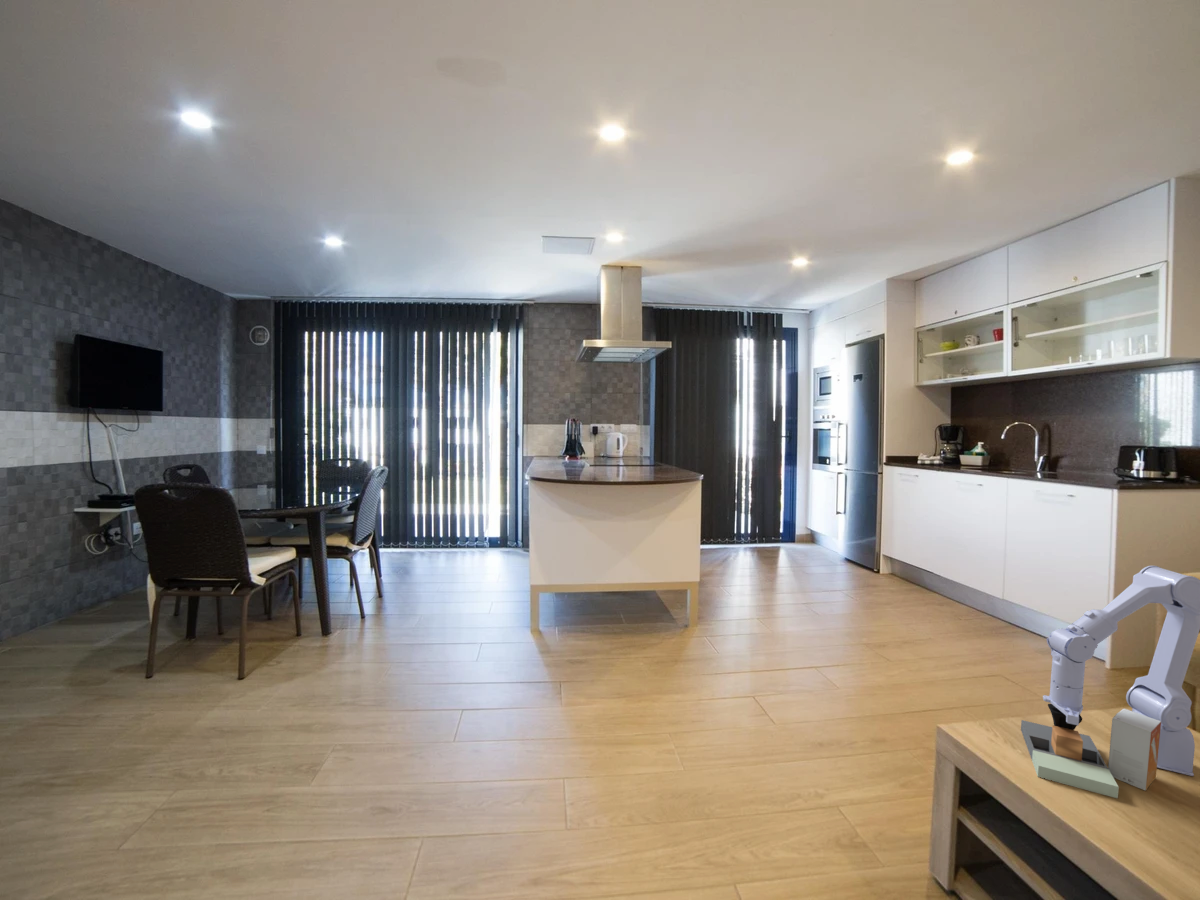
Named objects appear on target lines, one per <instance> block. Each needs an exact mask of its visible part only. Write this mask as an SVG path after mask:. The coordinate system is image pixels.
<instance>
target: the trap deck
mask: <svg viewBox="0 0 1200 900" xmlns="http://www.w3.org/2000/svg"><path fill="white" fill-rule="evenodd" d="M1020 731H1021V733H1022V736H1023V740H1024V742H1025V745H1026V747H1027V750H1028V753H1029V756H1030V759H1031V761H1032V764H1033V767H1034V770H1035V773H1036V775H1037V778H1040V777H1041V778H1040V779H1044V778H1045V780H1049V781H1051V780H1052V781H1053V782H1054V783H1055V782H1056V783H1060V784H1061V785H1062V784H1063V785H1067V786H1070V787H1073V788H1078V789H1081V790H1086V791H1089V792H1092V793H1096V794H1099V795H1104V796H1107V797H1111V798H1114V799H1118V798H1119V788H1120V787H1119V785H1118V783H1117V782H1116V779H1115V778H1114V777H1113V776H1112V774H1111V772H1110V771H1109V769H1108V764H1107V763H1106V762H1105V761H1104V759H1103V757H1102V754H1100V752H1099V750H1098V748H1097V746H1096V745H1095V743H1094V741H1093V740H1092V738H1091V736H1090V735H1087V734H1083V733H1079V734H1080V736H1081V738H1082V740H1083V748H1082V761H1080V760H1076V759H1072V758H1068V757H1064V756H1060V755H1057V754H1055V752H1054V750H1053V747H1052V745H1051V739H1052V726H1049V725H1045V724H1041V723H1040V724H1039V723H1036V722H1032V721H1027V720H1023V719H1021V722H1020Z"/></svg>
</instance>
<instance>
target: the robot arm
mask: <svg viewBox="0 0 1200 900" xmlns="http://www.w3.org/2000/svg"><path fill="white" fill-rule="evenodd" d="M1148 604H1161V605H1162V606H1163V607H1164V609H1165V610H1166V616H1165V618H1164V619H1165V620H1164V621H1163V625H1162V628H1161V632H1160V635H1159V638H1158V642H1157V645H1156V648H1155V650H1154V654H1153V658H1152V660H1151V663H1150V666H1149V667H1150V668H1149V670H1148V672H1147V675H1144V676H1139V677H1136V678H1135V680H1134V683H1133V685H1132V686H1131V687H1130V688H1129V689H1128V691H1127V692H1126V695H1125V700H1126V702H1127V704H1128V706H1129V707H1130V708H1132V710H1131V711H1133V712H1136V713H1139V714H1142V715H1144V716H1147V717H1150V718H1153V719H1156V720H1159V721H1161V729H1160V739H1159V749H1158V760H1157V768H1158V769H1162V770H1166V771H1171V772H1175V773H1178V774H1182V775H1187V776H1191V777H1194V775H1195V774H1194V771H1193V770H1194V760H1195V750H1196V749H1195V747H1196V746H1195V744H1196V743H1195V738H1194V735H1193V733H1192V731H1191V730H1190V729H1189V728H1187V727H1188V726H1190V724H1191V722H1192V712H1191V707H1192V703H1193V702H1192V700H1191V698H1190V697H1189V696H1188V695H1187V693H1186V691H1185V690H1184V689H1183V685H1184V681H1185V679H1186V678H1185V677H1186V674H1187V672H1188V668H1189V664H1190V662H1191V660H1192V656H1193V653H1194V650H1195V649H1194V648H1195V646H1196V644H1197V643H1196V642H1197V640H1198V635H1199V633H1200V579H1199V578H1197V577H1195V576H1193V575H1186V574H1182V573H1180V572H1176V571H1172V570H1169V569H1167V568H1166V569H1165V568H1162V567H1161V566H1158V565H1148V566H1145V567H1143V568H1142V569H1141V570H1140V571H1139V572H1137V573H1136V574H1134V575H1133V576H1132V583H1131V584H1129V586H1127V587H1126V588H1125V589H1124V590H1123V591H1122V592H1121V593H1119V594H1118V595H1117V596H1116V597H1115V598H1113V599H1112V600H1111V601H1110V602H1109V603H1108V604H1107V605H1106V606H1104V607H1103V608H1102V609H1095V608H1093V609H1089V610H1086V611H1085V612H1084V613H1083V615H1082V616H1081V617H1079V618H1078V619H1076V620H1075V621H1073V622H1072V623H1071V624H1069V625H1067V626H1066V627H1064V628H1063V627H1062V628H1058V629H1054V630H1053V631H1051V633H1050V634H1049V636H1048V637H1047V638H1046V644H1047V646H1048V648H1049V649H1050V655H1051V657H1052V658H1051V659H1052V660H1051V671H1050V672H1051V673H1050V683H1049V684H1050V687H1049V695H1046V694H1045V695H1042V699H1043V700H1042V701H1044V702H1046V703H1048V704H1047V706H1048V709H1049V711H1050V713H1051V717H1052V720H1053V725H1054V726H1058V727H1062V728H1066V729H1071V730H1075V729H1076V728H1077V727H1078V726H1079V725H1080V723H1081V722H1083V717H1082V715H1081V713H1082V711H1083V710H1084V706H1083V695H1084V684H1085V673H1086V672H1085V670H1086V661H1088V660H1091V659H1092V657H1093V656H1094V655H1095V650H1096V649H1097V648H1098V645H1099V644H1100V643H1102V642H1103V641H1104V640H1106V639H1107V638H1109V637H1110V636H1111V635H1113V634H1114V633H1115V632H1117V631H1118V627H1119V626H1118V623H1119V622H1120V621H1121V620H1124V618H1125V619H1126V617H1128V616H1130V615H1132V614H1133V613H1135V612H1137V611H1138V610H1140V609H1141V608H1143V607H1145V606H1147V605H1148Z"/></svg>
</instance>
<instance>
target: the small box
mask: <svg viewBox="0 0 1200 900" xmlns="http://www.w3.org/2000/svg"><path fill="white" fill-rule="evenodd" d="M1111 719H1112V720H1111V731H1110V739H1109V741H1110V742H1109V744H1110V745H1109V754H1108V764H1107V767H1108V769H1109V771H1110V772H1111V774H1112V776H1113V778H1114V779H1115V780H1116V779H1117V780H1119V781H1121V782H1123V783H1126V784H1128V785H1130V786H1132V787H1135V788H1138V789H1141V790H1143V791H1147V790H1148V788H1149V786H1150V785H1151V784H1152V783H1153V782H1154V780H1155V779H1157V770H1158V769H1157V760H1158V749H1159V739H1160V729H1161V721H1159V720H1156V719H1153V718H1150V717H1147V716H1144V715H1142V714H1139V713H1136V712H1133V711H1132V710H1130V709H1127V708H1122V709H1121V710H1120V711H1119V712H1117V713H1115V715H1114V716H1113V717H1112V718H1111Z"/></svg>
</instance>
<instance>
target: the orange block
mask: <svg viewBox="0 0 1200 900" xmlns="http://www.w3.org/2000/svg"><path fill="white" fill-rule="evenodd" d="M1051 727H1052V739H1051V745H1052V747H1053V750H1054V752H1055V754H1057V755H1060V756H1064V757H1068V758H1072V759H1076V760H1080V761H1082V748H1083V740H1082V738H1081V736H1080V734H1081V733H1079V731H1078V730H1075V729H1074V730H1071V729H1066V728H1062V727H1058V726H1054V724H1052V725H1051Z"/></svg>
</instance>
